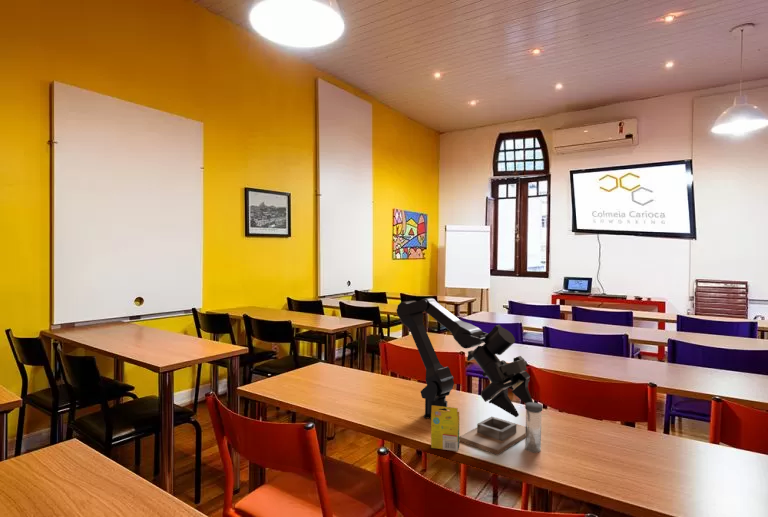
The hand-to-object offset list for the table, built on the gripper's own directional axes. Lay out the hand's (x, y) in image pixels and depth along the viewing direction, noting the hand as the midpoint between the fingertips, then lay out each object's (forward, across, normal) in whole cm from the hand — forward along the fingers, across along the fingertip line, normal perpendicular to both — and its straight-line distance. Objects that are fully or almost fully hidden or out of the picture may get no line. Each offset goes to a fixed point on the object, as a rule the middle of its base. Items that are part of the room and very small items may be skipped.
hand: (525, 411), depth 121 cm
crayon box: (-4, -16, +18) cm, 24 cm away
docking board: (0, 0, +13) cm, 13 cm away
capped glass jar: (+8, 0, +5) cm, 10 cm away
